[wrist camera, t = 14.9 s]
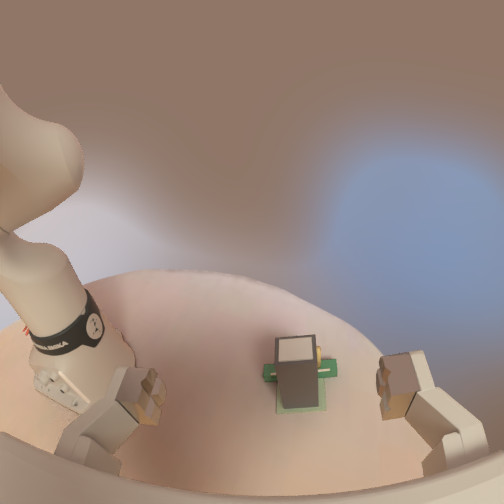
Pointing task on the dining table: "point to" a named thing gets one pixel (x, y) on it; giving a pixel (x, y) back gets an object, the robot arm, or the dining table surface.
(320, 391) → the pad
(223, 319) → the dining table surface
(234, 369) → the dining table surface
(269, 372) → the header strip
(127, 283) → the dining table surface
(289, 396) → the block
